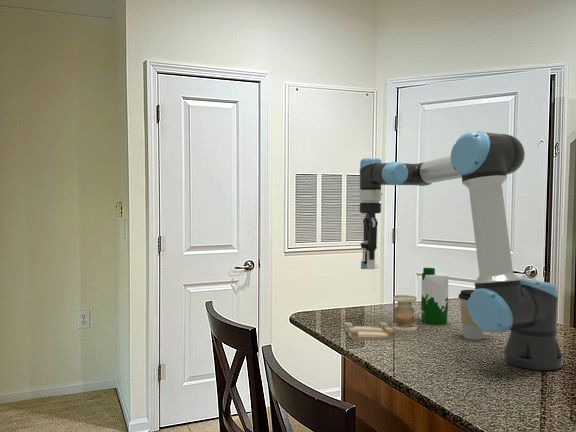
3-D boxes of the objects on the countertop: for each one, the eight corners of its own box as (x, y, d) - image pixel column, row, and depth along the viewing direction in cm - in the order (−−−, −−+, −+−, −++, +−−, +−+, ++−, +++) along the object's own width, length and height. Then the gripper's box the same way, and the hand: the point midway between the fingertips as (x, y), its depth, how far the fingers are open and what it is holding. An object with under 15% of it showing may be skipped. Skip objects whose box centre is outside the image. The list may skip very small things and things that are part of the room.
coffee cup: (490, 342, 173) (491, 294, 173) (459, 340, 175) (459, 293, 175) (485, 334, 183) (486, 289, 182) (456, 333, 184) (456, 288, 184)
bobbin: (420, 331, 186) (421, 299, 186) (394, 331, 186) (395, 299, 185) (413, 325, 195) (413, 294, 195) (388, 325, 195) (388, 294, 194)
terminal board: (395, 340, 175) (395, 331, 175) (351, 340, 174) (351, 332, 174) (384, 329, 189) (385, 321, 189) (344, 329, 188) (344, 322, 188)
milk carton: (419, 320, 203) (419, 266, 202) (443, 320, 203) (444, 266, 202) (424, 326, 194) (425, 269, 194) (450, 326, 194) (451, 270, 193)
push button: (378, 268, 198) (379, 240, 197) (378, 270, 193) (379, 241, 192) (360, 267, 199) (360, 240, 198) (359, 269, 194) (360, 241, 193)
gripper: (386, 202, 187) (385, 271, 188) (375, 201, 203) (375, 265, 204) (364, 202, 187) (363, 271, 187) (355, 201, 203) (355, 265, 204)
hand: (369, 267), depth 196 cm, fingers closed on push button, 3 cm apart
